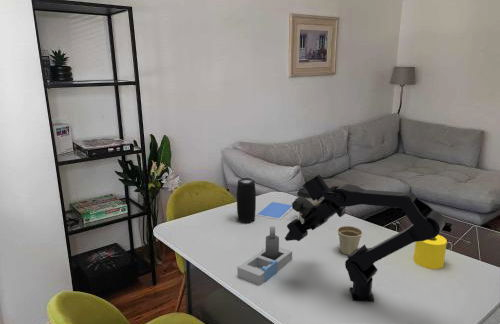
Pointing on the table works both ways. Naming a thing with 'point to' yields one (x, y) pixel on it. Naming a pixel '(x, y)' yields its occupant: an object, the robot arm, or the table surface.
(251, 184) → the portable speaker
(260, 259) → the cinder block
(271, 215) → the blue flat slab
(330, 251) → the table surface
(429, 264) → the yellow toilet paper roll
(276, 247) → the plug
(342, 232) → the flower pot
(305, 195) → the coffee cup
